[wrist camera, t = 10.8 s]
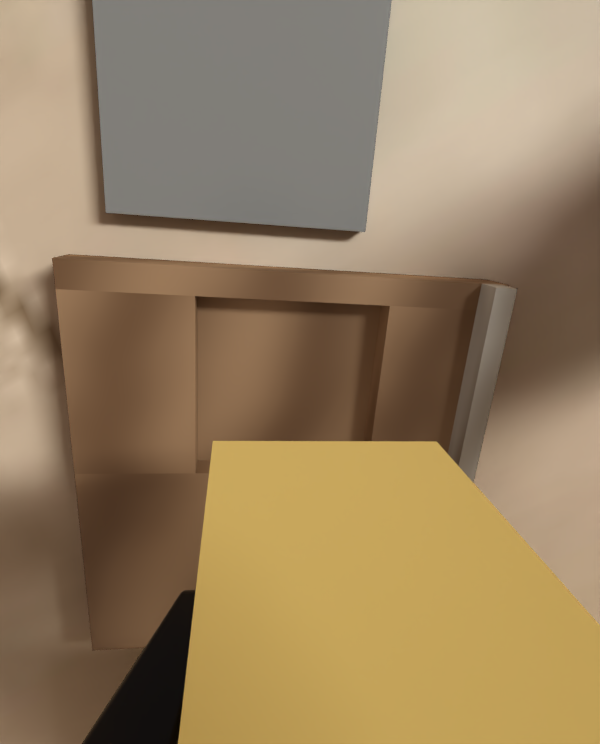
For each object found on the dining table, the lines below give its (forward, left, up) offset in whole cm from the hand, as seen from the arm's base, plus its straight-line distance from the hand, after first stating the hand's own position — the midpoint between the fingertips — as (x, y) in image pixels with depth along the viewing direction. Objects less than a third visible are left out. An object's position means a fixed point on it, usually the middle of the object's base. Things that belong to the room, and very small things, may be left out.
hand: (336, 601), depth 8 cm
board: (0, +4, -11) cm, 12 cm away
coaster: (+2, -11, -11) cm, 16 cm away
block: (0, 0, -2) cm, 2 cm away
